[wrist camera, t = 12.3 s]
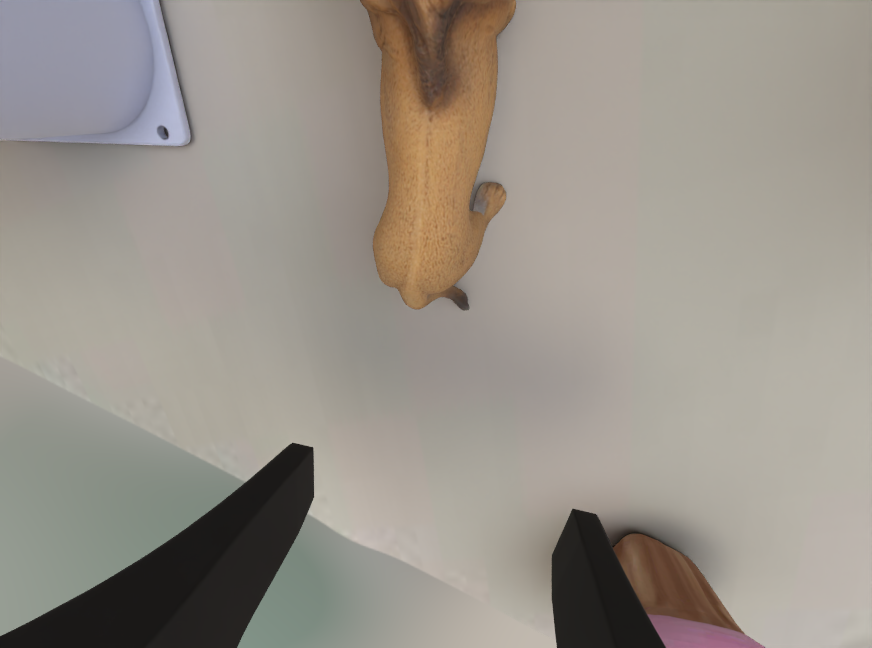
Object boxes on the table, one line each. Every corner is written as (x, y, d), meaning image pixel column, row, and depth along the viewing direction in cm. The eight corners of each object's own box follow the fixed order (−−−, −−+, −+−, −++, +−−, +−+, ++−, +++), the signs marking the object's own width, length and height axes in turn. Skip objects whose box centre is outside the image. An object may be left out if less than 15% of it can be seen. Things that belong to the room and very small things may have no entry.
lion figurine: (342, -122, 13) (72, -470, 5) (516, -171, 12) (514, -714, 4) (413, 306, 19) (343, 443, 12) (530, 301, 18) (540, 448, 10)
